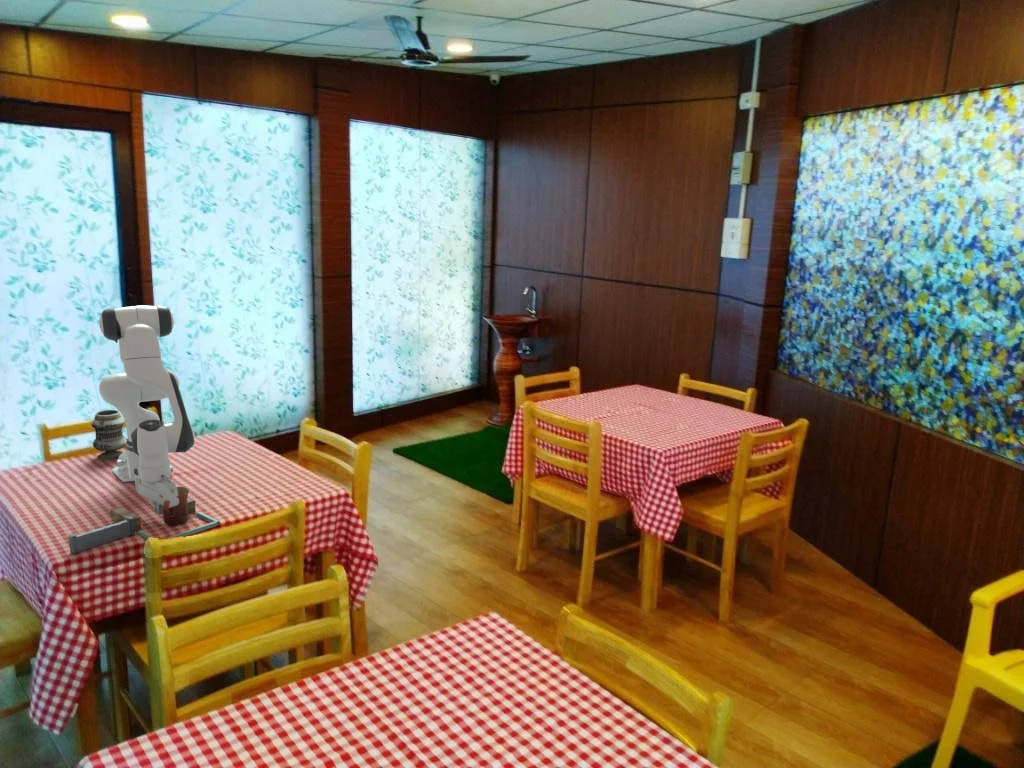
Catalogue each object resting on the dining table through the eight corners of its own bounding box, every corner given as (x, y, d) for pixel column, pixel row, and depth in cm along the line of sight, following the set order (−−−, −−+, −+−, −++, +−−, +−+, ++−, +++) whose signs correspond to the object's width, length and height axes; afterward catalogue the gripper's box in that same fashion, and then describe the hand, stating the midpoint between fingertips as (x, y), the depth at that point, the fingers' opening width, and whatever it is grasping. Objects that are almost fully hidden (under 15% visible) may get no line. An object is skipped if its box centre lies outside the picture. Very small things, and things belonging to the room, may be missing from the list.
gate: (70, 551, 227) (68, 534, 225) (132, 531, 240) (130, 516, 239) (73, 553, 225) (71, 536, 224) (135, 533, 239) (134, 517, 238)
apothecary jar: (105, 463, 301) (100, 418, 297) (88, 457, 308) (83, 412, 303) (135, 455, 311) (130, 411, 307) (117, 449, 317) (113, 406, 313)
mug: (167, 516, 252) (165, 486, 250) (195, 516, 253) (193, 486, 250) (152, 532, 241) (149, 500, 238) (181, 532, 241) (179, 501, 239)
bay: (138, 534, 239) (138, 530, 239) (199, 514, 254) (199, 511, 254) (158, 545, 232) (158, 541, 232) (220, 524, 247) (220, 521, 247)
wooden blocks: (111, 521, 248) (110, 509, 247) (174, 502, 264) (173, 491, 263) (132, 532, 240) (130, 520, 240) (195, 512, 257) (194, 500, 256)
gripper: (182, 477, 242) (185, 519, 245) (149, 462, 255) (152, 502, 258) (162, 482, 237) (166, 525, 241) (129, 467, 250) (133, 508, 253)
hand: (159, 513), depth 249 cm, fingers closed
